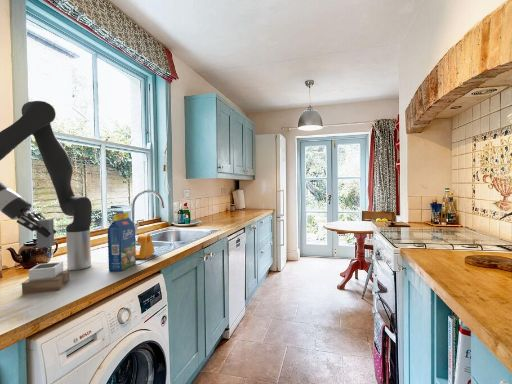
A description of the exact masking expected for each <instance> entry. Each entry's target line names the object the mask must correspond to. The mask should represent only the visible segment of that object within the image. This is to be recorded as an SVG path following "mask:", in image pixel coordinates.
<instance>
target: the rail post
mask: <svg viewBox="0 0 512 384" xmlns="http://www.w3.org/2000/svg"><path fill="white" fill-rule="evenodd" d="M38 221H39V222H38V223H40V224H41V225H42V226H43V227H44V228H46V229H47V230H48V231H50V232H51V235H50V236H49V237H47V238H46V237H44V236H43V235H42V234H40V233H39V232H38V231H37V232H36V231H35V232H36V235H35V236H36V248H41V249H42V248H50V247H52V246H54V245H55V234H54V230H55V227H54V218H45V219H41V220H38Z"/></svg>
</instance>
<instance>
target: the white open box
mask: <svg viewBox="0 0 512 384" xmlns="http://www.w3.org/2000/svg"><path fill="white" fill-rule="evenodd" d="M63 271H64V261H60V262H57V261H56V262H49V263H48V262H47V263H45V262H44V263H38V264H37V265H35V266H33V267H32V268H30V269H29V270H28V279H29V281H36V280H46V279H55V278H57V277H58V276H59V275H60V274H61V273H63Z"/></svg>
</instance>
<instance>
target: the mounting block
mask: <svg viewBox="0 0 512 384" xmlns="http://www.w3.org/2000/svg"><path fill="white" fill-rule="evenodd" d="M70 280H71V279H70V270H68V269H67V270H63V273H61V274H60V275H59V276H58V277H57V278H55V279H46V280H36V281H29V278H28V279H25V280H24V281H23V282H21V292H22V295H29V294H30V295H31V294H37V293H45V292H46V293H47V292H54V291H55V292H56V291H60V290H62V288H63V287H64V286H65V285H66V284H67V283H69V281H70Z"/></svg>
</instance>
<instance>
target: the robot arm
mask: <svg viewBox="0 0 512 384" xmlns="http://www.w3.org/2000/svg"><path fill="white" fill-rule="evenodd" d="M21 115H22V116H20V117H19V119H17V120H16V121H15V122H13V123H12V124H11V125H9V126H8V127H5V128H4V129H3V130H1V131H0V161H1V160H3V159H4V158H5V157H7V156H8V154H10V153H11V152H12V151H13V150H14V149H16V148H17V147H18V146H19V145H20V144H22V143H23V142H24V141H25V140H26V139H28V138H29V137H30V136H31V135H32V136H33V137H34V140H35V142H36V146H37V148H38V152H39V154H40V156H41V158H42V161H43V163H44V166H45V168H46V171H47V173H48V174H49V177H50V179H51V180H50V181H51V183H52V185H53V187H54V190H55V195H56V197H57V199H58V200H57V201H58V204H59V208H60V210H61V212H62V213H63V214H64V215H66V216H69V217H73V220H72V222H71V223H70V224H67V225H65V226H66V227H65V237H66V262H67V264H66V267H67V270H69V271H78V270H85V269H88V268H89V267H91V266H92V260H91V259H92V255H91V252H92V251H91V230H90V229H91V228H90V227H91V224H92V218H93V217H92V216H93V215H92V214H93V213H92V212H93V211H92V209H93V207H92V202H91V200H90V199H89V198H88V197H87V196H83V195H81V196H80V195H79V196H78V195H77V196H76V194H74V191H73V188H72V183H71V181H72V178H73V164H72V161H71V158H70V156H69V154H68V152H67V151H66V148H64V146H63V145H62V143H61V142H60V141H59V140H58V138H57V137H56V134H55V133H54V130H53V128H52V124H51V123H52V122H54V120H55V118H56V116H57V113H56V110H55V108H54V106H53V105H51V104H50V103H49V102H47V101H43V100H33V101H27V102H25V103H24V104H23V105H22V108H21ZM31 208H32V204H31V203H30V202H29V201H28V200H26V199H25V198H24V197H23V196H21V195H20V194H18V193H17V192H16V191H14V190H12V189H11V188H9V187H8V186H7V185H5V184H4V183H3V182H1V181H0V212H1V213H2V214H4V215H5V216H6V217H8V218H9V219H11V220H16V221H15V222H16V223H17V224H19V225H21V226H23V227H25V228H26V229H28V230H30V231H31V232H37V231H38V232H39V233H40V234H42V235H43V236H44V237H46V238H47V237H49V236H50V235H51V232H50V231H48V230H47V229H46V228H44V227H43V226H42V225H41V224H40V223H38V222H39V221H38V220H41V219H46V217H44V216H43V215H42V213H40V212H37V213H36V212H35V211H32V210H31ZM56 233H57V230H56V229H54V235H55V234H56Z"/></svg>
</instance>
